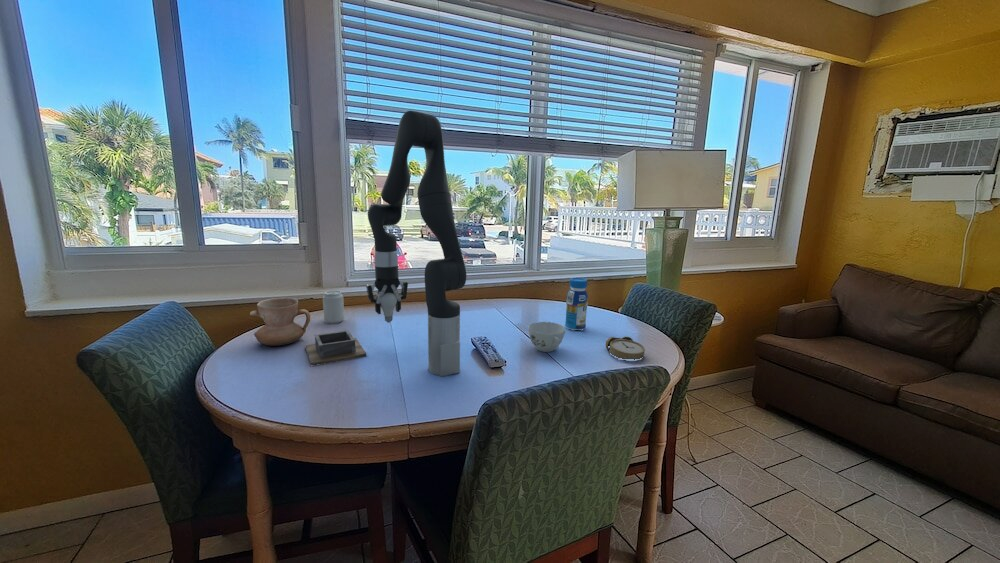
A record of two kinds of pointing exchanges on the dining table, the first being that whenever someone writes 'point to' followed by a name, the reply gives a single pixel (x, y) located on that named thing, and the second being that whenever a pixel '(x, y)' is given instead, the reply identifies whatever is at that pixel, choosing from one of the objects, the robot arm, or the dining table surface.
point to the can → (333, 306)
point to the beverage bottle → (576, 304)
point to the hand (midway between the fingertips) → (388, 312)
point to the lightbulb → (388, 305)
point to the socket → (334, 348)
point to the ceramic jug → (279, 321)
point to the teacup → (546, 335)
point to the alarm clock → (625, 348)
